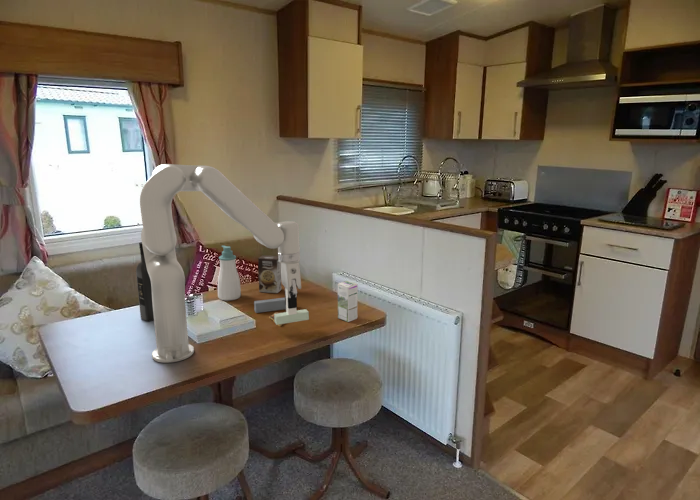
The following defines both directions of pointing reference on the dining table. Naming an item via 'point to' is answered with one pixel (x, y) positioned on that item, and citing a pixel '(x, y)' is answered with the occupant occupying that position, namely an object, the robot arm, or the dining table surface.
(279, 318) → the green white t block
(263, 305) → the rail
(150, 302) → the wine bottle
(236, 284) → the soap bottle
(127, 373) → the dining table surface
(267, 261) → the coffee box
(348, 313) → the syrup box
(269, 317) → the shard
